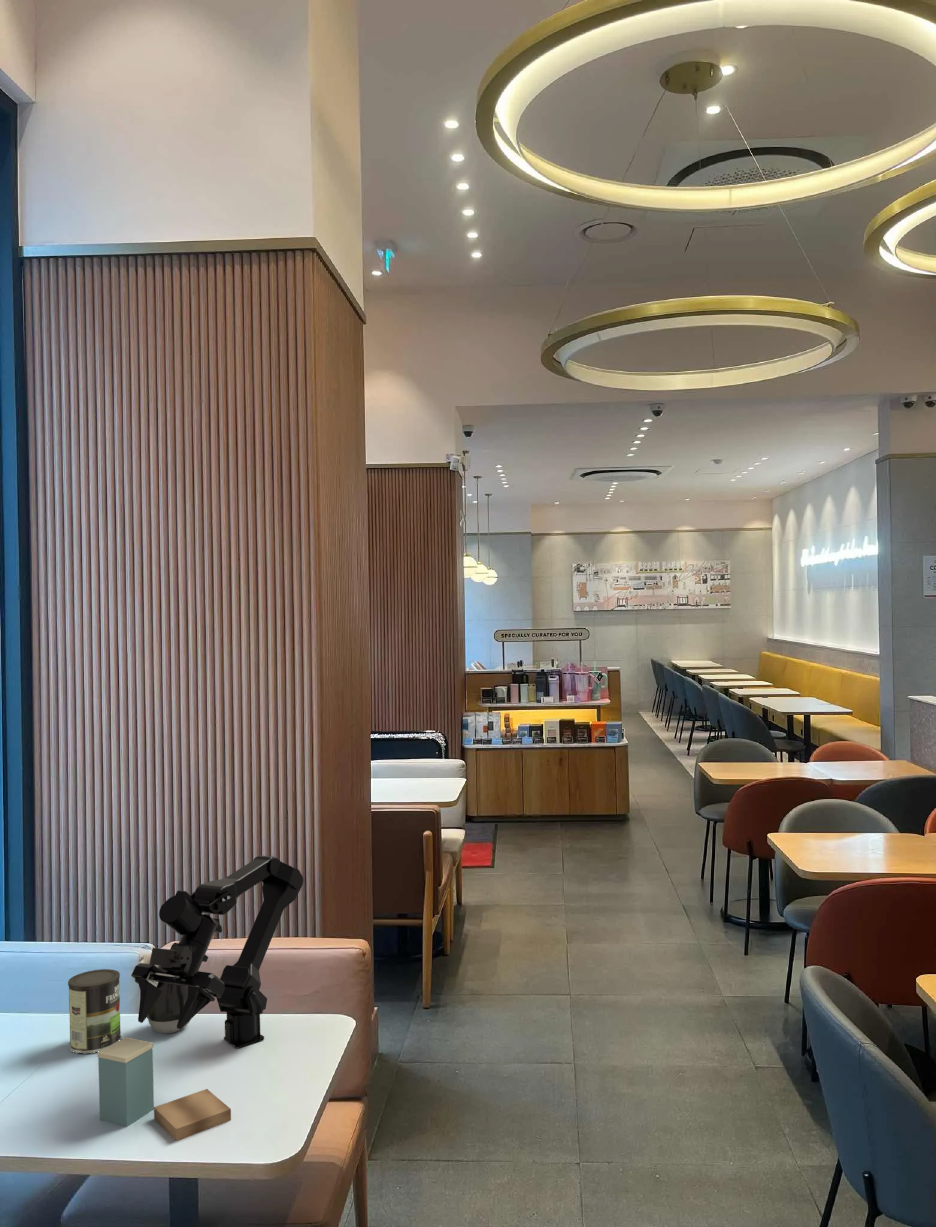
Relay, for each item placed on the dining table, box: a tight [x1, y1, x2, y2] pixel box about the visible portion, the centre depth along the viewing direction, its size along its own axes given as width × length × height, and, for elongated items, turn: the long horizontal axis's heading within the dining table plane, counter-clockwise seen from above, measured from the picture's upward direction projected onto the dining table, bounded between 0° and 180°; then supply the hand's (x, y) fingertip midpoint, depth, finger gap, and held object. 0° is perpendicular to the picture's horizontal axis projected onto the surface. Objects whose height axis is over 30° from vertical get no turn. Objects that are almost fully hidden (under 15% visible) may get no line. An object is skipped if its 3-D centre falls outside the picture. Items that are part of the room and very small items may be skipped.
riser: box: [153, 1088, 232, 1142], centre depth 166 cm, size 10×10×2 cm
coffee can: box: [67, 968, 122, 1054], centre depth 199 cm, size 10×10×14 cm
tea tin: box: [97, 1037, 155, 1128], centre depth 168 cm, size 7×7×12 cm
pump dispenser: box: [146, 965, 191, 1034], centre depth 206 cm, size 10×10×15 cm
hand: (159, 1025), depth 175 cm, fingers open, 9 cm apart
